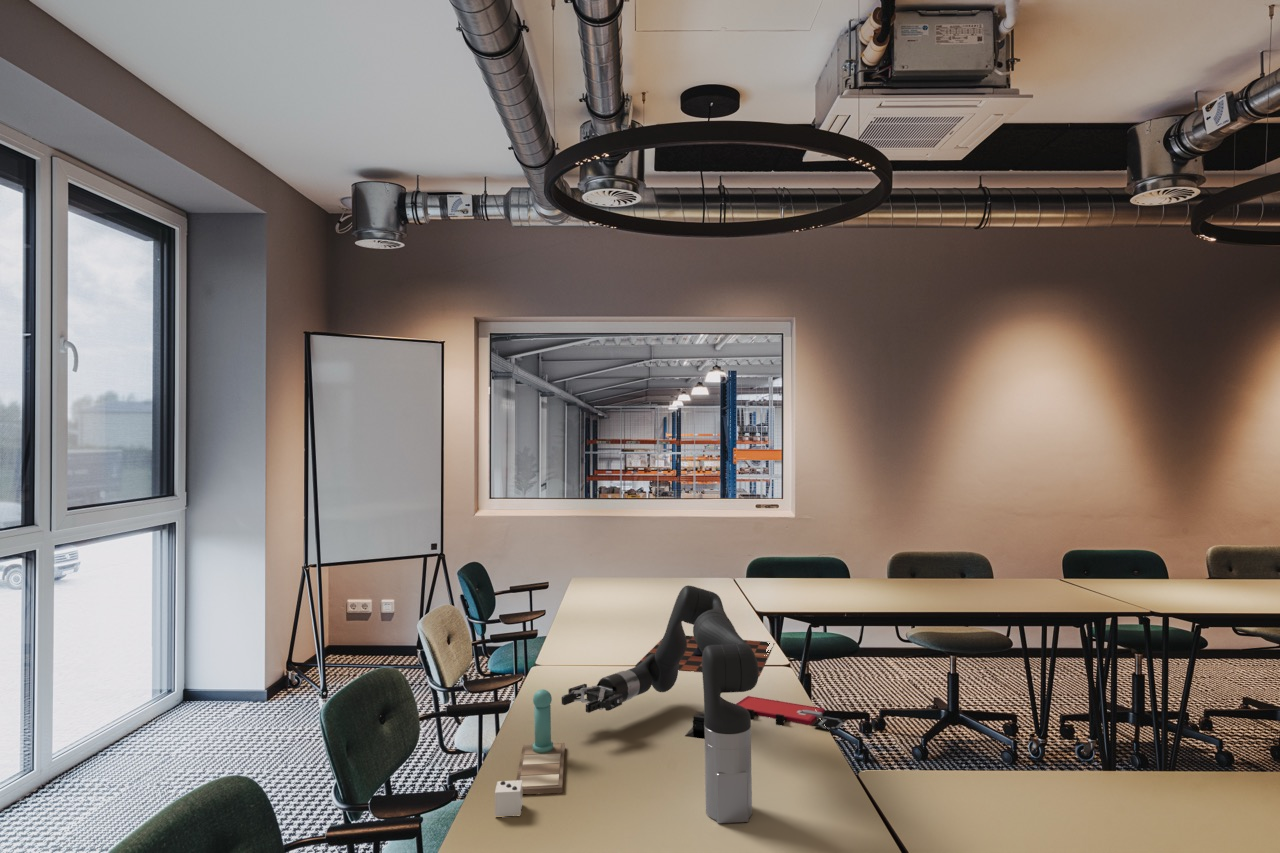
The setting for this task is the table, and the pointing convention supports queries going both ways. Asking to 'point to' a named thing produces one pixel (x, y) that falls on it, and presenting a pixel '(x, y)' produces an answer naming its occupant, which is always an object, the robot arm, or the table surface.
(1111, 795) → the table surface
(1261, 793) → the table surface
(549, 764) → the board
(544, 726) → the pawn
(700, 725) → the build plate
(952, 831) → the table surface
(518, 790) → the die
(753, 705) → the red board with handle
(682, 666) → the chessboard
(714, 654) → the robot arm
